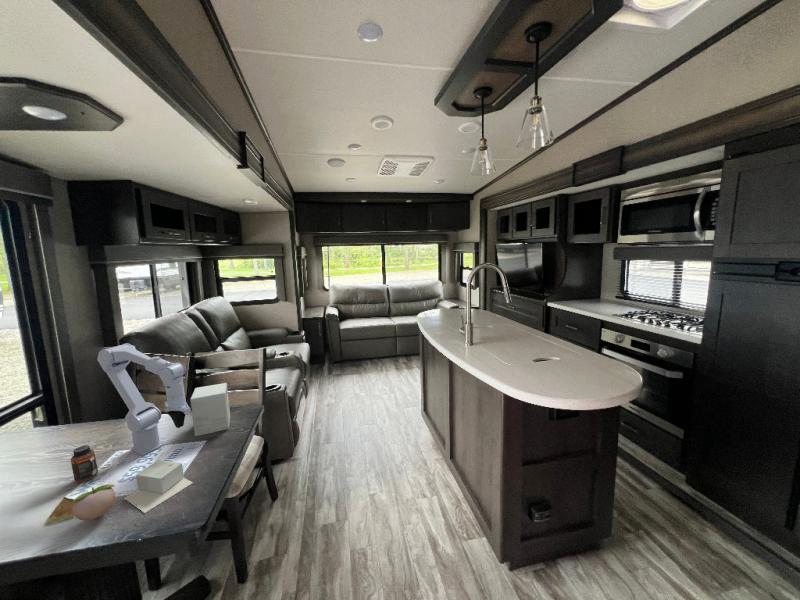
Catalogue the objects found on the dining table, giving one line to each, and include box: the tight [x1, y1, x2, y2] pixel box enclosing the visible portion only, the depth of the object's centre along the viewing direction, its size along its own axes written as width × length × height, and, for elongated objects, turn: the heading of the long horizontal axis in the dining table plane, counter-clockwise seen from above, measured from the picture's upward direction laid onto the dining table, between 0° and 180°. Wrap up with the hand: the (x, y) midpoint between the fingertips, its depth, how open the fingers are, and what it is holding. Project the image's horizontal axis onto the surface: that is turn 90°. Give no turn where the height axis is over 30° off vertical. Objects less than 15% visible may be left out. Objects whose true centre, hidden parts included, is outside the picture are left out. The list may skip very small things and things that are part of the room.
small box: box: [135, 459, 185, 493], centre depth 105 cm, size 8×6×10 cm
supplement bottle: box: [70, 444, 99, 483], centre depth 109 cm, size 6×6×11 cm
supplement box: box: [190, 382, 231, 437], centre depth 141 cm, size 13×13×18 cm
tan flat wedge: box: [46, 497, 75, 526], centre depth 97 cm, size 11×8×2 cm
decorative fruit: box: [71, 483, 116, 522], centre depth 92 cm, size 9×8×10 cm
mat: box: [123, 476, 194, 514], centre depth 103 cm, size 13×14×1 cm
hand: (179, 426), depth 123 cm, fingers closed
